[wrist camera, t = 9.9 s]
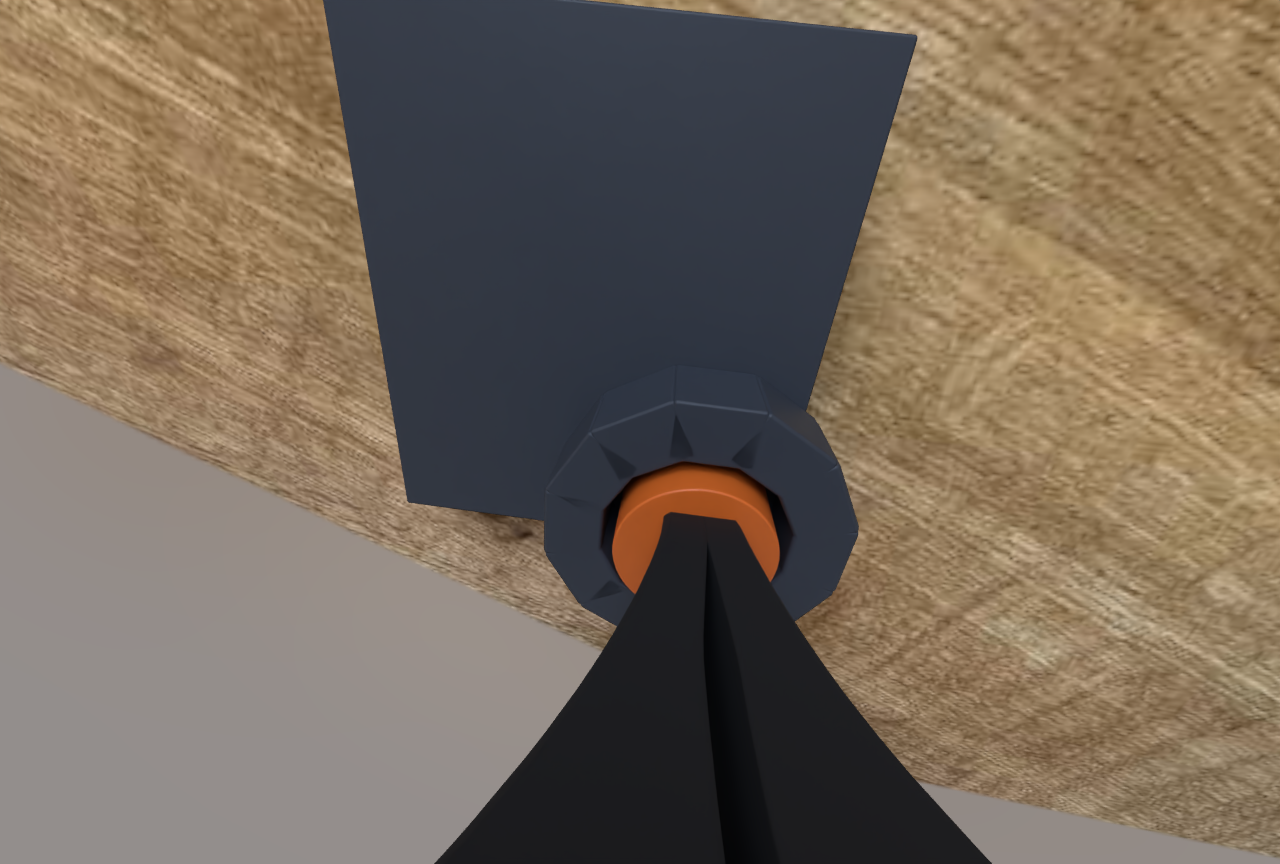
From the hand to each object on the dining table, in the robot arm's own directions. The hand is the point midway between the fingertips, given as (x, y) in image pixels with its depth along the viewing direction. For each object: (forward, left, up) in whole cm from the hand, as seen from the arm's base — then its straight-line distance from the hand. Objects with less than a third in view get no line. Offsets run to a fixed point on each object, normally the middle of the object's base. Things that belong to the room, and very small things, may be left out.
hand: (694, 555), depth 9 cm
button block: (+3, +2, -4) cm, 6 cm away
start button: (0, 0, -2) cm, 2 cm away
